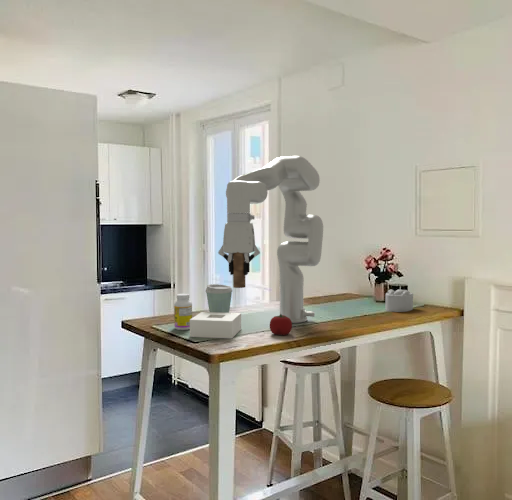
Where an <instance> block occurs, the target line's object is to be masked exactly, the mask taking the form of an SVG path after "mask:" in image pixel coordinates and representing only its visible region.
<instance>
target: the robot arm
mask: <svg viewBox="0 0 512 500" xmlns="http://www.w3.org/2000/svg"><path fill="white" fill-rule="evenodd" d="M320 179H321V178H320V175H319V171H317V169H316V168H315V167H314V166H313V165H312V164H311V162H309V160H308V159H307V158H305V157H303V156H301V155H292V156H291V155H290V156H280V157H278V156H277V157H276V158H274V159H273V160H272V161H270V162H269V163H267V164H266V165H264V166H263V167H262V168H258V169H255V170H253V171H250V172H247V173H245V174H242V175H239V176H237V177H236V178H234V179H232V180H231V181H228V183H227V184H226V190H225V197H226V213H227V214H226V223H225V224H224V227H223V228H224V230H223V238H222V239H223V242H222V245H221V246H220V248H219V250H218V252H217V253H218V255H220V256H221V257H222V258H223V259H224V260H226V261H227V263H228V272H229V274H230V276H233V253H237V252H239V253H242V254H244V256H245V263H244V275H245V276H248V274H249V273H250V271H251V270H250V262H251V261H252V260H253V259H255V258H256V257H257V256H259V255H260V254H261V251H260V250H259V248H258V247H257V245H256V238H255V228H254V224H253V222H251V221H253V220H255V217H256V216H255V215H253V214H251V205H253V204H254V205H255V204H261V203H263V202H265V200H267V198H268V194H269V193H268V191H271V190H274V189H275V188H277V187H278V188H279V189H280V191H281V193H282V195H283V199H284V202H285V206H284V207H285V210H284V220H283V234H284V236H285V237H287V238H289V239H300V240H302V239H303V240H305V239H307V240H308V241H297V240H296V241H294V240H293V241H292V240H291V241H283V242H282V243H280V244H279V245H278V247H277V251H276V255H277V261H278V266H279V268H278V269H279V315H280V314H282V315H284V316H286V317H288V318H290V320H291V321H292V324H296V323H297V324H298V323H305V322H307V321H308V317H312V318H313V317H315V311H311V310H310V311H307V310H305V309H306V308H305V307H304V274H303V272H302V270H301V268H300V267H315V266H317V265H319V264H320V262H321V258H322V249H323V238H324V222H323V219H322V218H321V217H320V216H319V215H317V214H307V205H308V203H307V200H306V198H305V197H304V196H303V194H302V193H301V192H310V191H315V190H316V189H318V187H319V186H320V183H321V182H320V181H321V180H320ZM251 253H252V254H251Z"/></svg>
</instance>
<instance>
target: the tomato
mask: <svg viewBox="0 0 512 500" xmlns="http://www.w3.org/2000/svg"><path fill="white" fill-rule="evenodd" d="M292 329H293V323H292V321H291V320H290V318H288V317H286V316H284V315H282V314H280V313H279V315H275V316H273V317H271V319H270V321H269V330H270V332H271V333H272V334H274V335H277V336H287V335H288V334H290V333H291V331H292Z"/></svg>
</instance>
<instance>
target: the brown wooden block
mask: <svg viewBox="0 0 512 500" xmlns="http://www.w3.org/2000/svg"><path fill="white" fill-rule="evenodd" d="M244 263H245V256H244V254H242V253H239V252H237V253H233V275H232V283H233V284H232V285H233V288H234V289H235V288H236V289H242V288H246V275H244Z"/></svg>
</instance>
